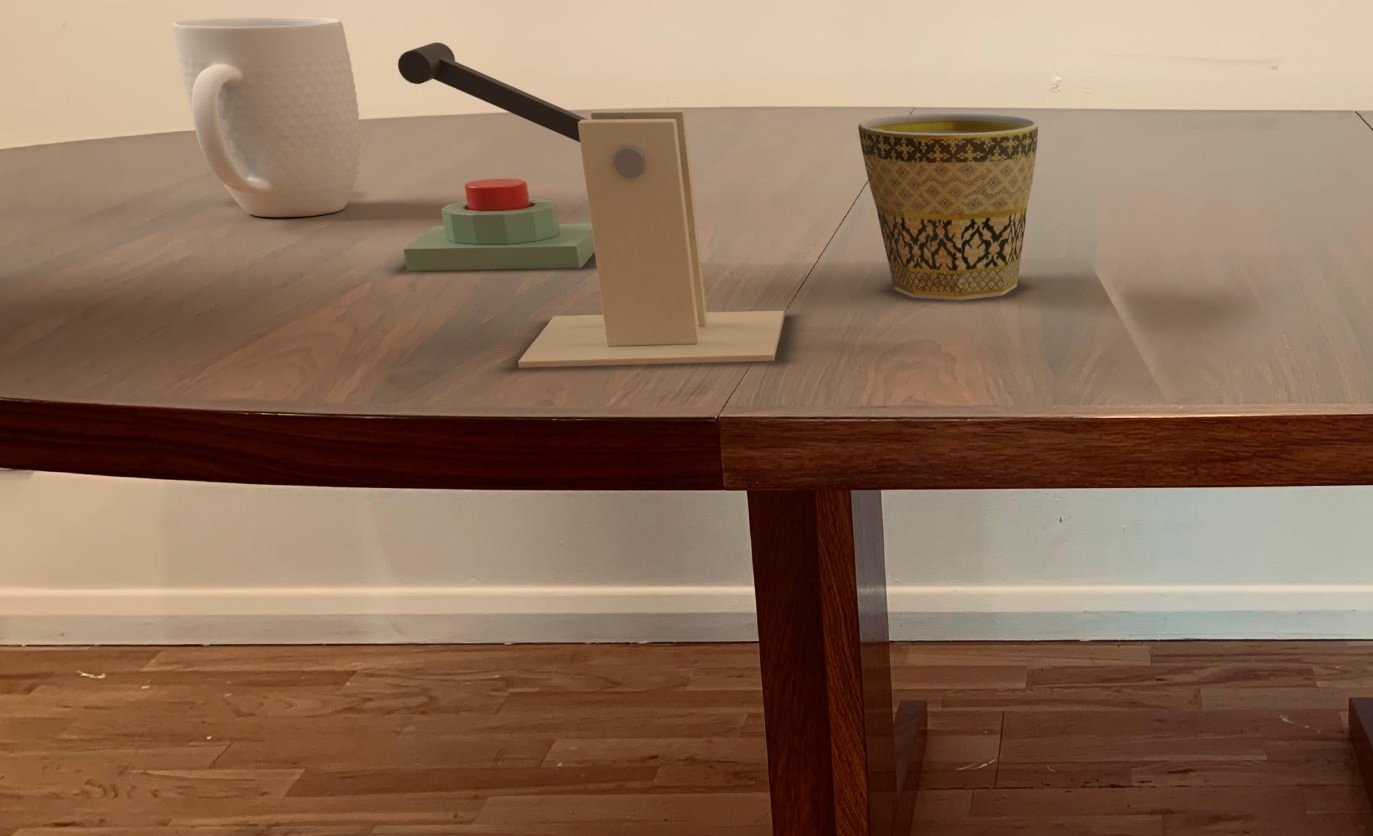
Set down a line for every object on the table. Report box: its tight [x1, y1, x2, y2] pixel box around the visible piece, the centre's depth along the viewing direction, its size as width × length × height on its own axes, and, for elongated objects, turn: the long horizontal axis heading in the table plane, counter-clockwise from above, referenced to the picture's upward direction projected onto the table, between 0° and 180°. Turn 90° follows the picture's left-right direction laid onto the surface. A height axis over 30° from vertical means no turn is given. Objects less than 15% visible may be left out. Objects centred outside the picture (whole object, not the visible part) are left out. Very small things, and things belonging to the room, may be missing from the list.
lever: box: [397, 42, 626, 143], centre depth 83 cm, size 12×5×2 cm, turn 98°
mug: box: [172, 16, 361, 218], centre depth 124 cm, size 15×11×13 cm
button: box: [464, 178, 530, 211], centre depth 107 cm, size 4×4×2 cm
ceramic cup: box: [858, 112, 1039, 301], centre depth 100 cm, size 13×10×10 cm
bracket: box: [517, 108, 786, 369], centre depth 86 cm, size 12×10×12 cm
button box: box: [403, 197, 595, 272], centre depth 108 cm, size 10×8×4 cm
